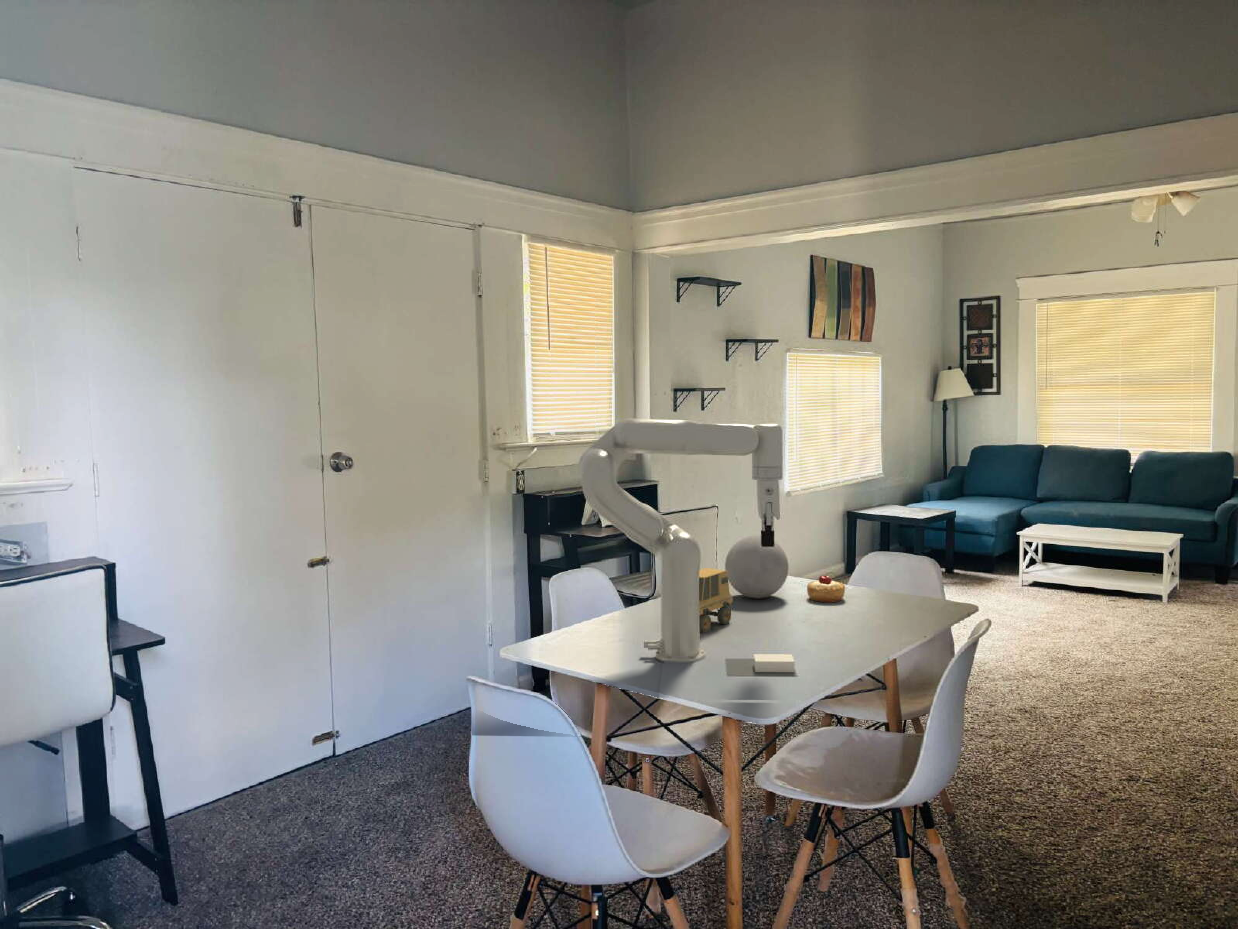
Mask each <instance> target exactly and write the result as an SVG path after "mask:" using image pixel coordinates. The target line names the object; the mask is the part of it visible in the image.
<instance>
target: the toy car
mask: <svg viewBox="0 0 1238 929" xmlns="http://www.w3.org/2000/svg"><path fill="white" fill-rule="evenodd" d="M731 604H734V600H733V596H732V594H731V593H730V583H729V580H728V573H727V570H725V569H719V568H710V567H709V568H708V567H704V568H702V569H701V568H700V571H699V626H700V633H707V632H709V631H710V629H711V626H712V619H711V616H712V617H713V616H714V617H716V618H717V622H718V623H719V624H721V625H728V624H729V623H730V622H731V619H732V611H731V608H730V605H731ZM728 606H729V607H728ZM714 610H715V611H714ZM716 610H717V611H716Z"/></svg>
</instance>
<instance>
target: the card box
mask: <svg viewBox="0 0 1238 929" xmlns="http://www.w3.org/2000/svg"><path fill="white" fill-rule="evenodd" d="M753 659H754V668H755V672H795V671H796V668H795V659H794V656H793V655H792V654H791V653H790V654H789V653H788V654H787V653H785V654H783V653H781V654H780V653H778V654H777V653H776V654H775V653H770V654H769V653H767V654H766V653H765V654H764V653H756V654H755V653H754V654H753Z"/></svg>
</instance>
